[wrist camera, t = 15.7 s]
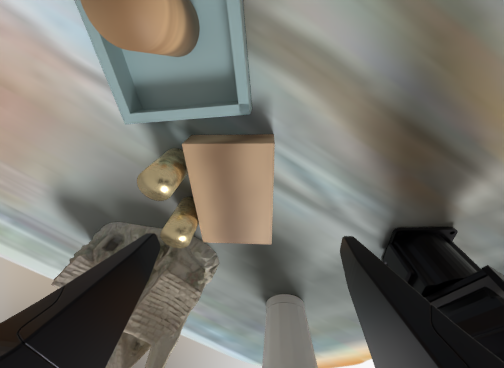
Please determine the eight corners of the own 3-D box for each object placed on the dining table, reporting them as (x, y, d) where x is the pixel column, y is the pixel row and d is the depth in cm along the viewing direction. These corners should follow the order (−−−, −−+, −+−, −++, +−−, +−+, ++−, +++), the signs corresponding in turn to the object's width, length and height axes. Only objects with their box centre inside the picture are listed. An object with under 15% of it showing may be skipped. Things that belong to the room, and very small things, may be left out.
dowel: (192, -17, 13) (145, -72, 8) (204, 53, 15) (174, 45, 10) (136, -8, 14) (58, -55, 9) (156, 59, 16) (102, 55, 11)
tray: (232, -123, 11) (224, -167, 9) (252, 108, 18) (249, 114, 16) (67, -88, 12) (25, -120, 10) (141, 117, 19) (125, 124, 17)
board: (273, 133, 19) (274, 143, 17) (271, 226, 25) (271, 244, 23) (193, 133, 20) (181, 143, 17) (209, 224, 26) (203, 242, 23)
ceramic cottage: (233, 270, 29) (193, 425, 16) (158, 293, 35) (85, 420, 22) (162, 189, 24) (20, 324, 11) (88, 232, 30) (-63, 353, 17)
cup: (255, 294, 32) (248, 400, 22) (304, 288, 31) (322, 400, 20) (268, 319, 36) (269, 420, 26) (313, 315, 34) (332, 421, 24)
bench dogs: (188, 147, 20) (166, 169, 16) (206, 216, 25) (193, 248, 20) (160, 149, 20) (131, 171, 16) (183, 217, 25) (165, 248, 21)
